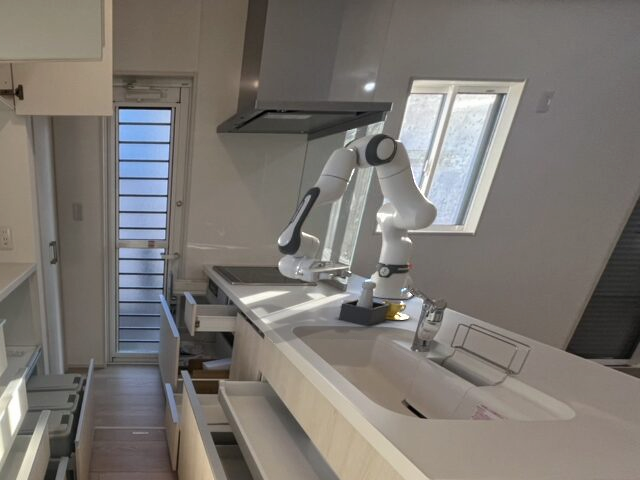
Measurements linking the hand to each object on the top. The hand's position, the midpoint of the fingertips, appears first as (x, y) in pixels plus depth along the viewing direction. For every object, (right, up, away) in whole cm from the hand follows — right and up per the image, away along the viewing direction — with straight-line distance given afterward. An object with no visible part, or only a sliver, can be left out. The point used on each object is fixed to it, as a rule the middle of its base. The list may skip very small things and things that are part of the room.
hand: (341, 275), depth 153 cm
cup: (+18, -16, -1) cm, 23 cm away
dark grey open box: (+5, -17, -4) cm, 18 cm away
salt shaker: (+5, -17, -4) cm, 18 cm away
